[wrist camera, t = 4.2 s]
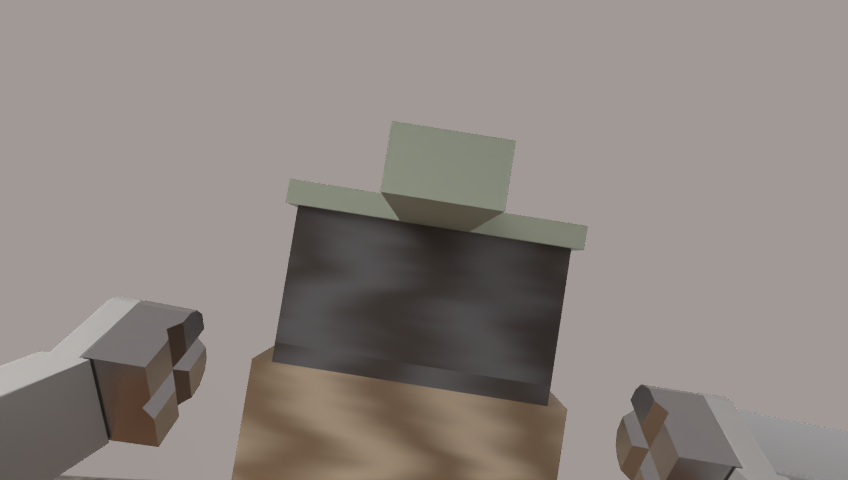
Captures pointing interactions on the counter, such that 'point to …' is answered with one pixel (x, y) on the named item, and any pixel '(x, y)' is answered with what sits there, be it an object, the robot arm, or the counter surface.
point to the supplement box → (800, 447)
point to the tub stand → (408, 357)
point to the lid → (443, 188)
